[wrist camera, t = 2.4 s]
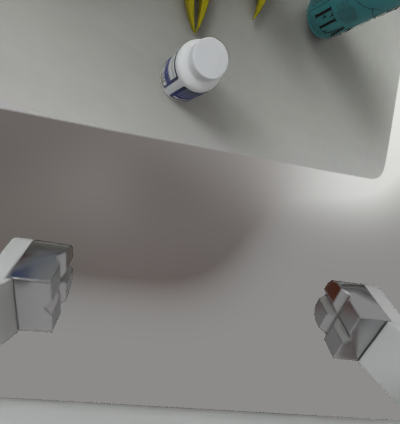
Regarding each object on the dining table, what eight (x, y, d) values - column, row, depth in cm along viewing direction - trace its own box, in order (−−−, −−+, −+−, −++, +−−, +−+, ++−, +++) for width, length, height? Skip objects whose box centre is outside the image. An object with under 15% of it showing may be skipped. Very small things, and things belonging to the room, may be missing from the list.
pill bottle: (206, 84, 41) (244, 64, 32) (178, 111, 40) (210, 98, 31) (179, 48, 39) (213, 17, 30) (150, 76, 38) (175, 51, 29)
